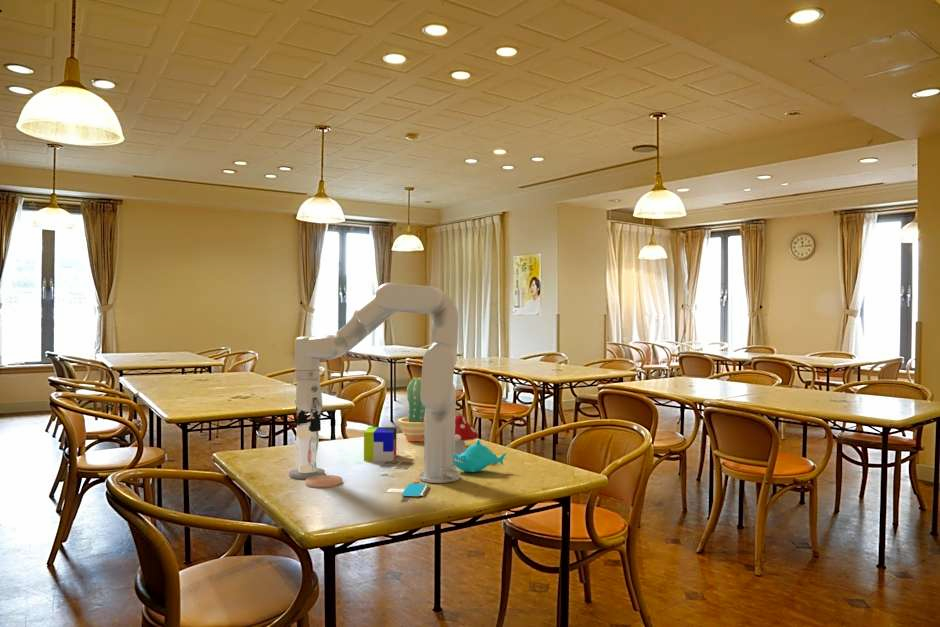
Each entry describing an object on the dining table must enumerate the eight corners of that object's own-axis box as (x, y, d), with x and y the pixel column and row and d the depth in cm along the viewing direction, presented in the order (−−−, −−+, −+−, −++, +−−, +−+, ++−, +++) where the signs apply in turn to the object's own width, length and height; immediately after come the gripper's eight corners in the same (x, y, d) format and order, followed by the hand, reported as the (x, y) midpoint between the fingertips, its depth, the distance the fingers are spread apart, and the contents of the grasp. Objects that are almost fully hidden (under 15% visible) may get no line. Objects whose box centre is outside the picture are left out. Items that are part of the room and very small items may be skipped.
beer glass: (321, 469, 213) (321, 422, 213) (314, 474, 207) (314, 426, 206) (300, 468, 214) (300, 422, 214) (292, 474, 207) (292, 426, 207)
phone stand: (394, 483, 203) (394, 478, 203) (433, 484, 201) (433, 479, 201) (379, 502, 183) (379, 496, 183) (422, 504, 182) (422, 498, 182)
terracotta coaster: (348, 483, 200) (348, 480, 200) (314, 489, 193) (314, 486, 193) (332, 476, 209) (332, 473, 209) (299, 481, 202) (299, 478, 202)
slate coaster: (330, 475, 209) (330, 472, 209) (297, 481, 203) (297, 478, 203) (315, 468, 218) (315, 465, 218) (283, 474, 211) (283, 470, 211)
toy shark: (451, 468, 220) (451, 436, 220) (505, 468, 220) (505, 436, 220) (450, 475, 210) (451, 442, 210) (507, 475, 211) (507, 442, 210)
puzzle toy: (392, 461, 230) (392, 432, 230) (363, 460, 230) (363, 432, 230) (396, 454, 240) (396, 427, 240) (368, 454, 240) (368, 427, 240)
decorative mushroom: (472, 462, 228) (473, 419, 228) (434, 460, 232) (434, 417, 232) (482, 453, 242) (482, 412, 242) (446, 451, 245) (446, 411, 245)
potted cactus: (430, 444, 258) (430, 380, 258) (392, 442, 261) (392, 379, 261) (439, 436, 273) (439, 376, 273) (403, 435, 276) (404, 375, 276)
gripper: (330, 376, 206) (332, 431, 206) (307, 372, 219) (308, 424, 219) (308, 378, 201) (309, 434, 201) (285, 374, 214) (286, 427, 215)
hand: (308, 429), depth 210 cm, fingers open, 9 cm apart
